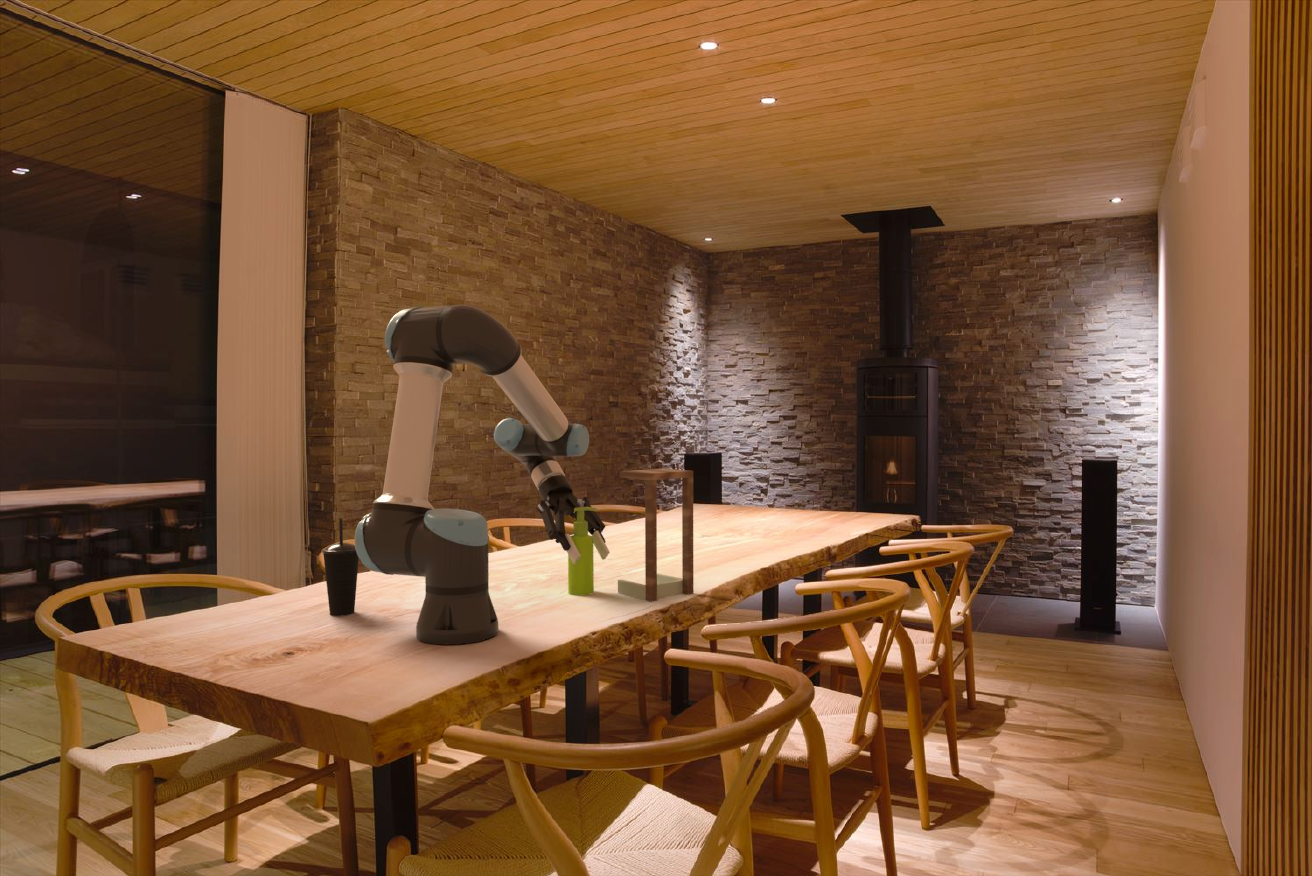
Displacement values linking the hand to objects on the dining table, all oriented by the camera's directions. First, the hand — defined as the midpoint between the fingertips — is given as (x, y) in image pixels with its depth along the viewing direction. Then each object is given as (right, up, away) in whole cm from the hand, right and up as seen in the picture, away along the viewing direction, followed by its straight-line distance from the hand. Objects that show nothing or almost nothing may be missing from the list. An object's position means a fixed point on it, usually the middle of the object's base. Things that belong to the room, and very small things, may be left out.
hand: (591, 557), depth 194 cm
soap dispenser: (-2, -9, +3) cm, 9 cm away
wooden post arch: (+15, -8, +1) cm, 17 cm away
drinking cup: (-51, -9, -17) cm, 55 cm away
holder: (+14, -8, +3) cm, 16 cm away
